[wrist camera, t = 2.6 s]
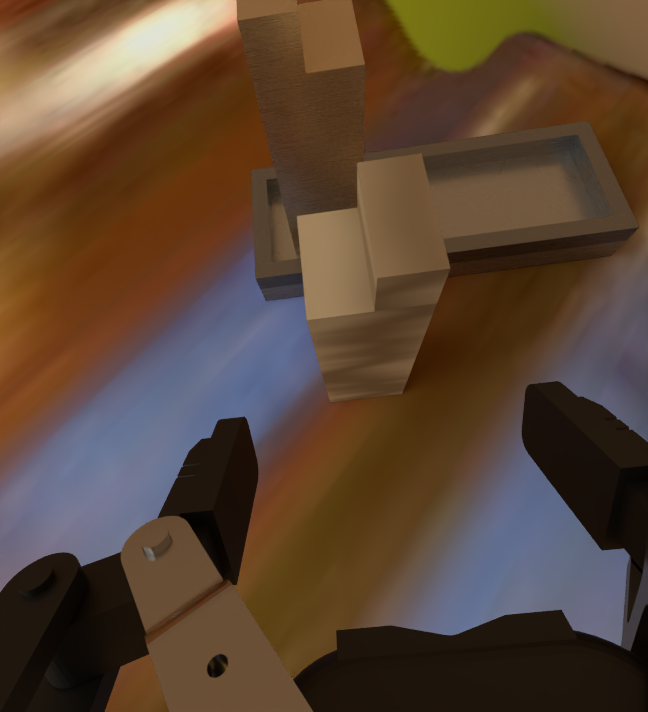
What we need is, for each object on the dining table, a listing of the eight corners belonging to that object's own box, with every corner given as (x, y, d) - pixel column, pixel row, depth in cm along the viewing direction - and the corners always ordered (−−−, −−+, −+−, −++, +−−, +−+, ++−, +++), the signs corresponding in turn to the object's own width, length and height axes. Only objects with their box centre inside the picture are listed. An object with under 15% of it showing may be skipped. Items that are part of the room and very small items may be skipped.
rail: (265, 300, 26) (162, 74, 12) (260, 199, 29) (172, -72, 15) (610, 255, 25) (911, -43, 11) (567, 155, 28) (764, -174, 14)
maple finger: (329, 402, 23) (295, 289, 11) (322, 336, 25) (285, 173, 12) (402, 393, 23) (450, 268, 11) (390, 328, 24) (421, 153, 12)
